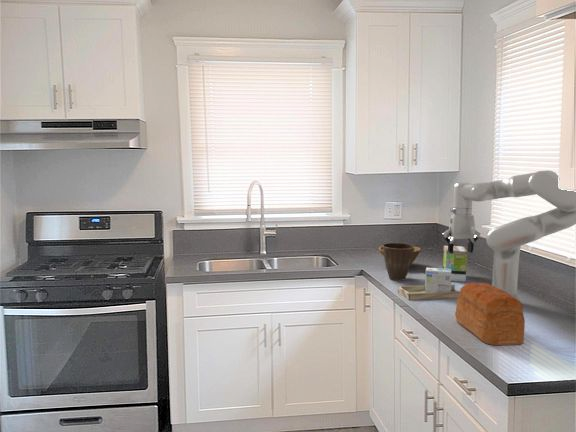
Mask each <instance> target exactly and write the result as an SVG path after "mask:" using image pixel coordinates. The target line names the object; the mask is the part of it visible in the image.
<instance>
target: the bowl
mask: <svg viewBox="0 0 576 432" xmlns="http://www.w3.org/2000/svg"><path fill="white" fill-rule="evenodd" d="M378 250H379V253H380V254H381V255H382V257H384V254H383V245H381V246H379V247H378ZM420 252H421V248H420V247H418V246H414V253H413V257H412V261H411V264H412V263H413V262H414V261H415V260H416V259H417V257H418V256H419V254H420Z"/></svg>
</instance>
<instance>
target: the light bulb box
mask: <svg viewBox="0 0 576 432" xmlns="http://www.w3.org/2000/svg"><path fill="white" fill-rule="evenodd" d="M424 283H425V284H424V286H425V293H433V292H451V285H452V281H451V269H443V267H442V268H439V267H426V268H425V281H424Z"/></svg>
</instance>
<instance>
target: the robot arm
mask: <svg viewBox="0 0 576 432" xmlns="http://www.w3.org/2000/svg"><path fill="white" fill-rule="evenodd" d="M558 177H559V175H558V174H557V173H556V172H554V171H552V170H539V171H536V172H535V171H534V172H529V173H524V174H518V175H513V176H510V177H509V178H505V179H500V180H495V181H488V182H476V183H471V182H456V183H455V184H454V187H453V188H454V189H453V205H452V209H450V210H449V211H450V213H452V214H451V216H450V219H449V226H448V229H446V231H444V232H443V233H441V236H442V237H443V239H444V240H445V242H446V243H447V246H448V252H450V253H453V246H455V245H454V241H455V240H468V243H467V253H471V254H472V253H473V252H474V245H475V243H476V241H477V240H479V237H480V235H481V233H480V232H479V231H478V230H477V229H476V226H475V225H476V224H475V222H476V221H475V217H474V214H472V212H473V209H472V208H473V202H485V201H491V200H493V201H494V200H496V199H498V200H499V199H505V198H521V197H522V198H523V197H527V196H534V195H537V196H538V197H540V198H541V199H543V200H545V202H547V203H549V204H551V205H552V206H554V207H555V208H553V209H550V210H547V211H545V212H542V213H539V214H535V215H531V216H530V215H529V216H526V217H522V218H519V219H516V220H514V221H511V222H508V223H505V224H502V225H499V226H496V227H494V228H492V229H490V230H489V232H488V233H487V235H486V238H485V239H486V240H485V241H486V244H487V246H488V248H490V249H491V250H492V251H494V253H493V263H492V275H491V276H492V278H491V280H492V281H491V285H492V286H494V287H496V288H498V289H501V290H503V291H505V292H507V293H508V294H510V295H511V296H513V297H514V298H516V299H517V300H519V301H520V302H521V300H520V298H518V279H519V266H520V263H519V261H520V253H521V249H522V246H523V245H527V244H530V243H533V242H535V241H539V239H542V238H545V237H547V236H549V235H552V234H556V233H558V232H561V231H564V230H567V229H569V228H571V227H573V226H575V225H576V192H574V191H567V190H561V189H559V188H558Z"/></svg>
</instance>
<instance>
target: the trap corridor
mask: <svg viewBox="0 0 576 432" xmlns="http://www.w3.org/2000/svg"><path fill="white" fill-rule="evenodd" d="M455 286H456V285H455V284H451V292H433V293H425V285H403V286H402V285H401V286H400V285H399V286H397V293H399V294H400V295H401V296H403V297H404V298H405V299H408V300H410V301H411V300H435V299H437V300H438V299H440V300H441V299H457V298H458V297H459V294H460V290H458V291H457V290H456V289H455Z"/></svg>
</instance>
